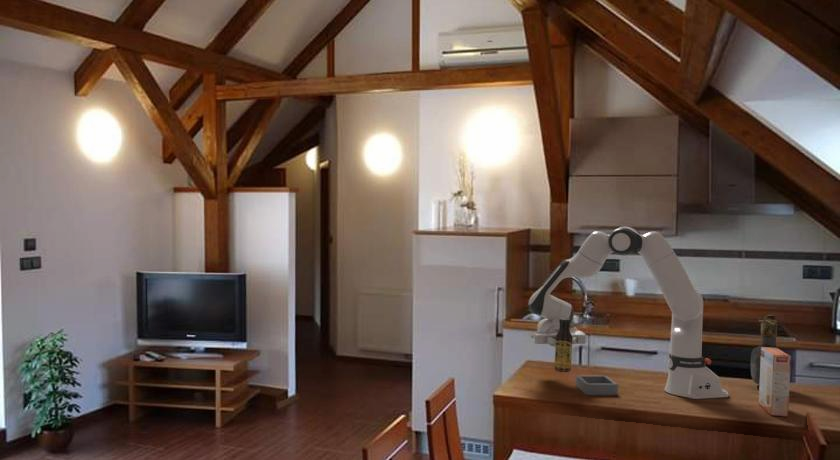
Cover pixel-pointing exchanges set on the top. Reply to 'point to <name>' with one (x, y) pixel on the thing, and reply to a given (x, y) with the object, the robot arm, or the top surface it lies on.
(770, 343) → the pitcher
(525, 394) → the top surface
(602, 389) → the bottle collar
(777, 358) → the cracker box
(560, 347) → the sauce bottle
